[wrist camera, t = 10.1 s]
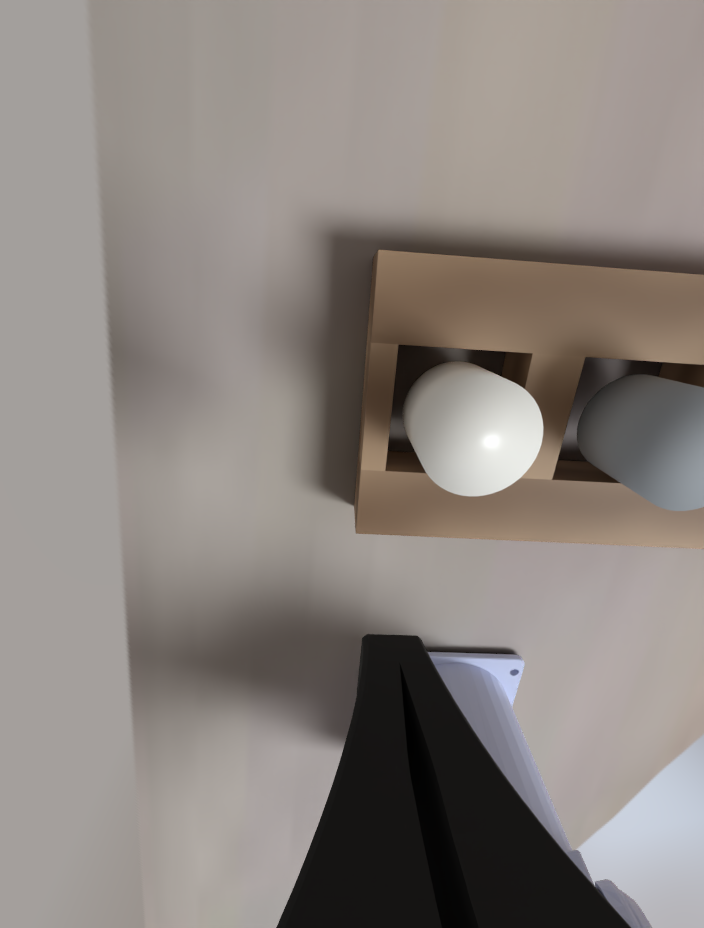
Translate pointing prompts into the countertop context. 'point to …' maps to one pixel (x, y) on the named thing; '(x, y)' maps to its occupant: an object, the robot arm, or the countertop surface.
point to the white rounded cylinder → (472, 428)
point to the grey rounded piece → (648, 438)
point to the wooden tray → (540, 373)
